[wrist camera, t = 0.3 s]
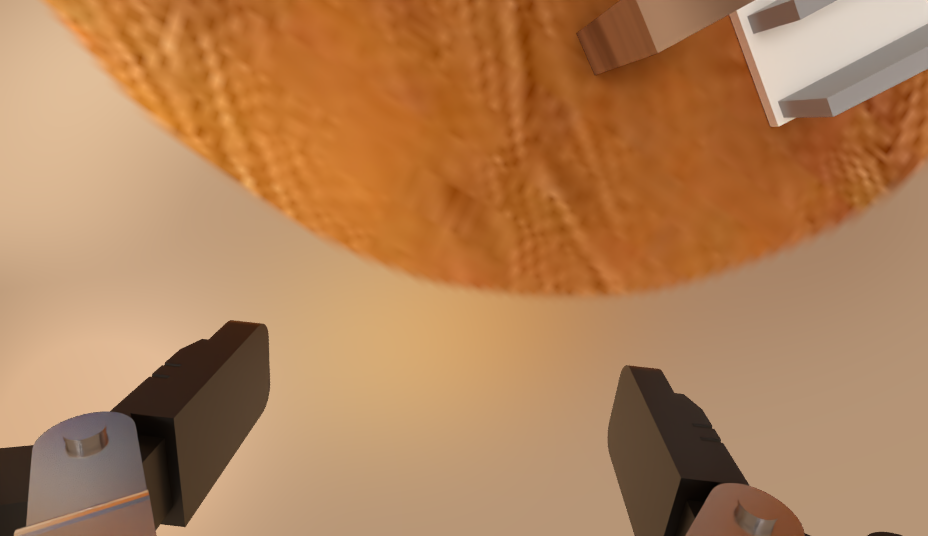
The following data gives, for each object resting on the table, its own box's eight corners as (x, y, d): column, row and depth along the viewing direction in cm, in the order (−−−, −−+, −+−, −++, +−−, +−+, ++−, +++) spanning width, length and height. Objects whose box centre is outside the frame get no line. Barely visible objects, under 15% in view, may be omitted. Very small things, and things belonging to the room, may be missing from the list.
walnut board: (594, 75, 37) (657, 53, 25) (576, 33, 36) (632, -9, 24) (669, 34, 36) (769, -8, 24) (652, -9, 35) (746, -74, 24)
